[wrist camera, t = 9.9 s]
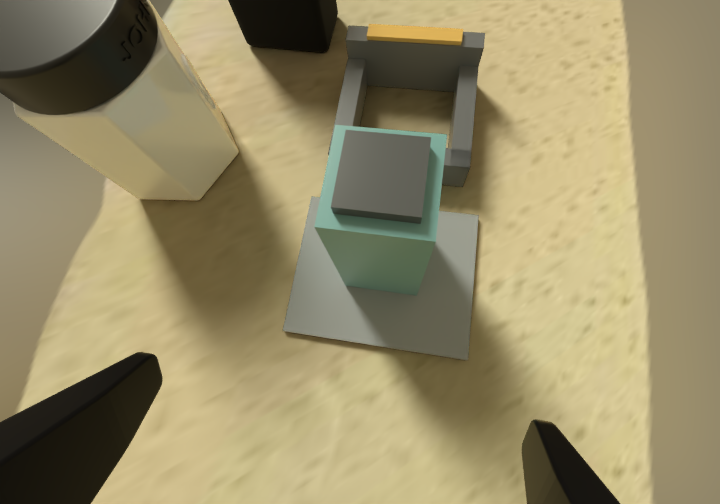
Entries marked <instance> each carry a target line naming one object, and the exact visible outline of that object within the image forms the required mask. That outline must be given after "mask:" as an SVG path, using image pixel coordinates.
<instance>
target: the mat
mask: <svg viewBox="0 0 720 504" xmlns="http://www.w3.org/2000/svg"><path fill="white" fill-rule="evenodd" d="M319 201H320V197H311V201H310V206H309V211H308V215H307V220H306V225H305V229H304V234H303V239H302V243H301V248H300V253H299V257H298V262H297V267H296V271H295V276H294V281H293V285H292V290H291V295H290V299H289V304H288V309H287V313H286V318H285V323H284V327H283V331H285V332H291V333H297V334H304V335H310V336H316V337H323V338H329V339H335V340H342V341H348V342H354V343H360V344H367V345H373V346H379V347H386V348H392V349H398V350H405V351H411V352H417V353H423V354H430V355H436V356H442V357H449V358H455V359H461V360H468V354H469V340H470V326H471V313H472V299H473V285H474V271H475V257H476V243H477V229H478V215H472V214H463V213H454V212H445V211H439V216H438V225H437V235H436V243H435V245H434V248H433V251H432V254H431V257H430V259H429V262H428V265H427V268H426V271H425V274H424V276H423V279H422V282H421V285H420V288H419V291H418V293H417V296H416V295H409V294H401V293H394V292H387V291H380V290H373V289H366V288H358V287H351V286H345V284H344V282H343V280H342V278H341V276H340V274H339V273H338V271H337V269H336V267H335V265H334V263H333V261H332V259H331V258H330V256H329V254H328V252H327V250H326V248H325V246H324V244H323V243H322V241H321V239H320V237H319V235H318V233H317V231H316V229H315V228H314V225H315V221H316V216H317V211H318V206H319Z"/></svg>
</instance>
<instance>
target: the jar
mask: <svg viewBox="0 0 720 504" xmlns="http://www.w3.org/2000/svg"><path fill="white" fill-rule="evenodd" d="M0 93H1V94H3V95H4V96H6V97H7V98H8V99H10V100H11V101H13V105H14V109H15V114H16V115H17V116H18V117H19V118H20V119H22V120H23V121H25V122H26V123H28V124H29V125H31V126H32V127H34V128H35V129H37V130H38V131H40V132H41V133H42V134H44V135H45V136H47V137H48V138H50V139H51V140H53V141H54V142H56V143H57V144H59V145H60V146H62V147H63V148H65V149H66V150H67V151H69V152H70V153H72V154H73V155H75V156H76V157H78V158H79V159H81V160H82V161H84V162H85V163H86V164H88V165H89V166H91V167H92V168H94V169H95V170H97V171H98V172H100V173H101V174H103V175H104V176H106V177H107V178H108V179H110V180H111V181H113V182H114V183H116V184H117V185H119V186H120V187H122V188H123V189H125V190H126V191H128V192H129V193H131V194H132V195H133V196H135V197H136V198H138V199H151V200H193V201H198V200H200V199H201V198H202V197H203V196H204V194H205V193H206V192H207V191H208V190H209V188H210V187H211V186H212V185H213V183H214V182H215V181H216V180H217V179H218V177H219V176H220V175H221V174H222V172H223V171H224V170H225V169H226V168H227V166H228V165H229V164H230V163H231V162H232V160H233V159H234V158H235V157H236V156H237V154H238V152H239V151H238V148H237V146H236V144H235V141H234V139H233V137H232V135H231V133H230V130H229V128H228V126H227V124H226V122H225V119H224V117H223V115H222V113H221V111H220V108H219V107H218V105H217V103H216V102H215V100H214V99H213V97H212V96H211V94H210V93H209V91H208V90H207V88H206V87H205V85H204V84H203V82H202V80H201V79H200V77H199V75H198V74H197V72H196V71H195V69H194V67H193V66H192V64H191V62H190V61H189V59H188V58H187V56H186V55H185V54H184V53H183V51H182V50H181V48H180V47H179V45H178V44H177V42H176V41H175V39H174V38H173V36H172V34H171V33H170V31H169V30H168V28H167V27H166V25H165V24H164V22H163V21H162V19H161V18H160V16H159V14H158V13H157V11H156V10H155V8H154V7H153V5H152V4H151V2H150V1H149V0H0Z"/></svg>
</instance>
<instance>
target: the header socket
mask: <svg viewBox="0 0 720 504" xmlns="http://www.w3.org/2000/svg"><path fill="white" fill-rule="evenodd" d="M484 38H485V33H474V32H463V29H454V28H435V27H417V26H398V25H380V24H369V27H365V26H348V31H347V36H346V46H347V54H348V61H347V66H346V70H345V75H344V80H343V85H342V90H341V94H340V99H339V104H338V109H337V114H336V118H335V123H334V128H335V125H344V126H356V127H360V123H361V117H362V112H363V106H364V101H365V95H366V90H367V85H368V86H381V87H394V88H408V89H421V90H435V91H448V92H454V95H453V105H452V115H451V124H450V134H449V144H448V148H446V149H445V158H444V168H443V177H442V185H449V186H459V187H463V184H464V182H465V179H466V176H467V174H468V171H469V169H470V161H471V149H472V137H473V125H474V113H475V101H476V89H477V76H478V66H479V62H480V59H481V56H482V52H483V49H484ZM334 128H333V133H334ZM333 133H332V138H333ZM332 138H331V143H332ZM331 143H330V147H329V152H328V155H329V153H330V148H331Z"/></svg>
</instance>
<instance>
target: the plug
mask: <svg viewBox="0 0 720 504" xmlns="http://www.w3.org/2000/svg"><path fill="white" fill-rule="evenodd" d="M446 139H447V134H436V133H424V132H413V131H402V130H390V129H379V128H367V127H356V126H344V125H335V128H334V133H333V138H332V143H331V148H330V153H329V157H328V162H327V167H326V172H325V177H324V182H323V187H322V191H321V196H320V201H319V206H318V211H317V216H316V221H315V225H314V228H315V229H316V231H317V233H318V235H319V237H320V239H321V241H322V243H323V244H324V246H325V248H326V250H327V252H328V254H329V256H330V258H331V259H332V261H333V263H334V265H335V267H336V269H337V271H338V273H339V274H340V276H341V278H342V280H343V282H344V284H345V286H351V287H358V288H366V289H373V290H380V291H387V292H394V293H401V294H409V295H416V296H417V293H418V291H419V288H420V285H421V282H422V279H423V276H424V274H425V271H426V268H427V265H428V262H429V259H430V257H431V254H432V251H433V248H434V245H435V243H436V235H437V225H438V216H439V206H440V196H441V187H442V177H443V168H444V158H445V149H446Z"/></svg>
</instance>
